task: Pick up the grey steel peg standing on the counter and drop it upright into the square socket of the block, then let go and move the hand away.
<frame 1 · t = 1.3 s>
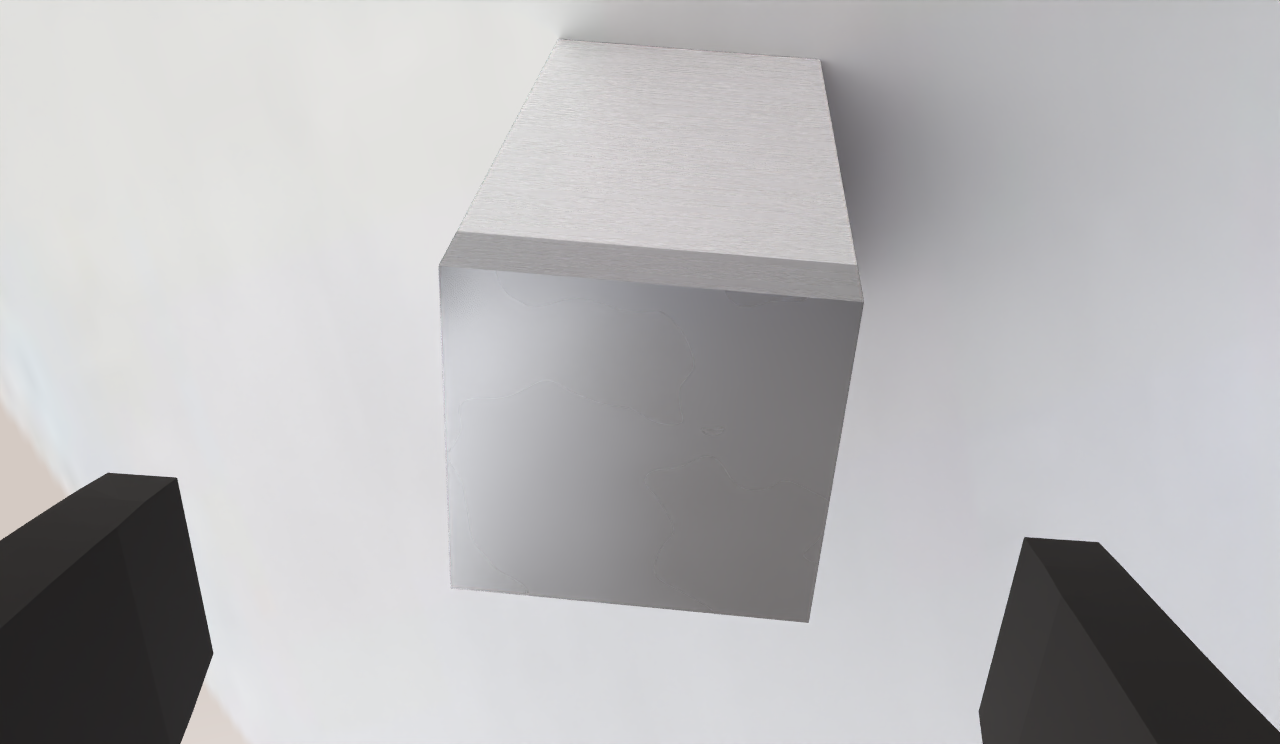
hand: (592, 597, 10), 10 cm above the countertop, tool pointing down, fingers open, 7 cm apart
peg: (678, 173, 19), on the countertop
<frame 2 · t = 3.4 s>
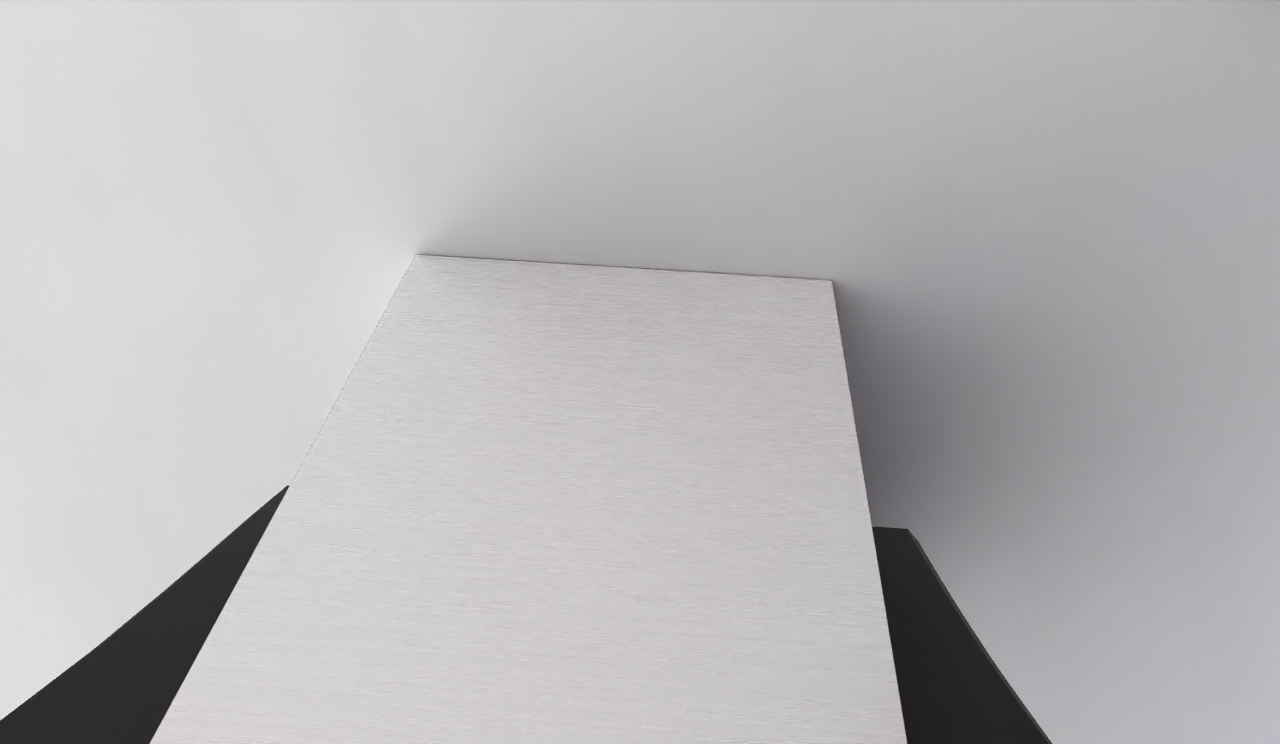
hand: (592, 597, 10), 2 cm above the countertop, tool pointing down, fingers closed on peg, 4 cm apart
peg: (616, 440, 12), on the countertop, touching gripper
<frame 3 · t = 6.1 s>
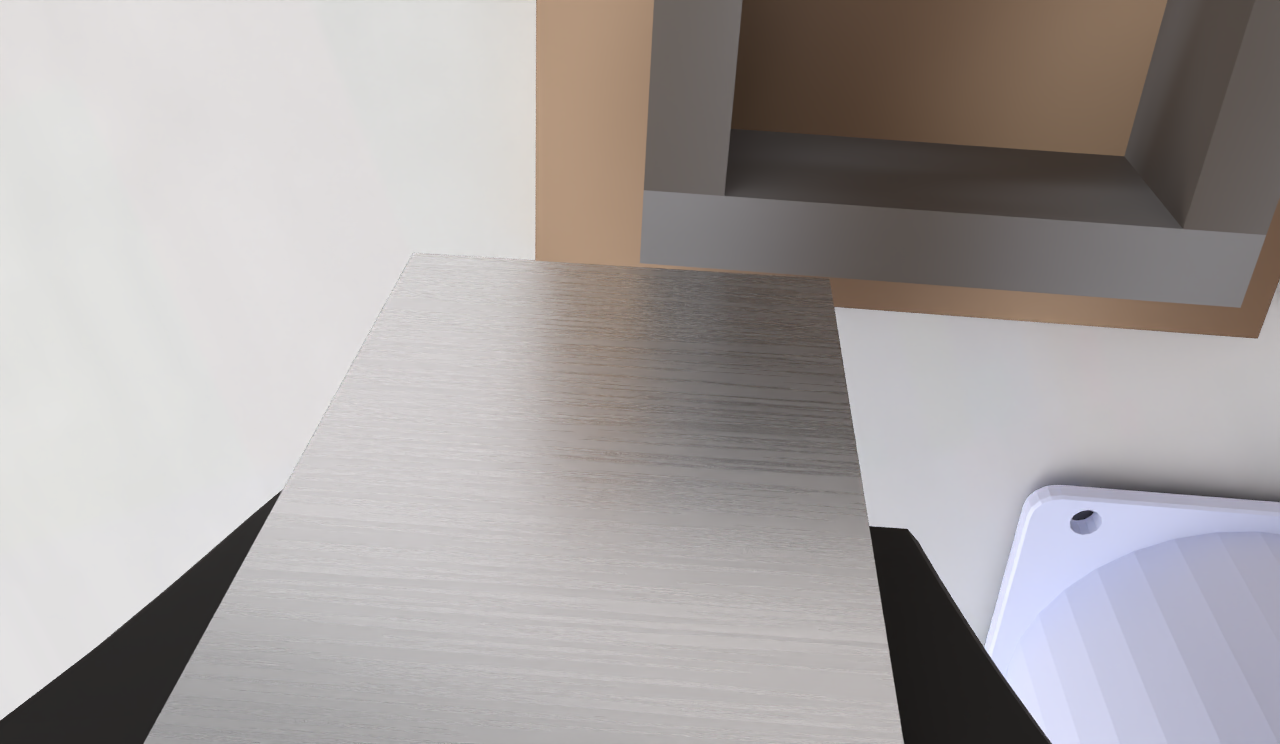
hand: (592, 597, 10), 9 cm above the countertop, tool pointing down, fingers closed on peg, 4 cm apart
peg: (614, 438, 12), point 7 cm above the countertop, touching gripper
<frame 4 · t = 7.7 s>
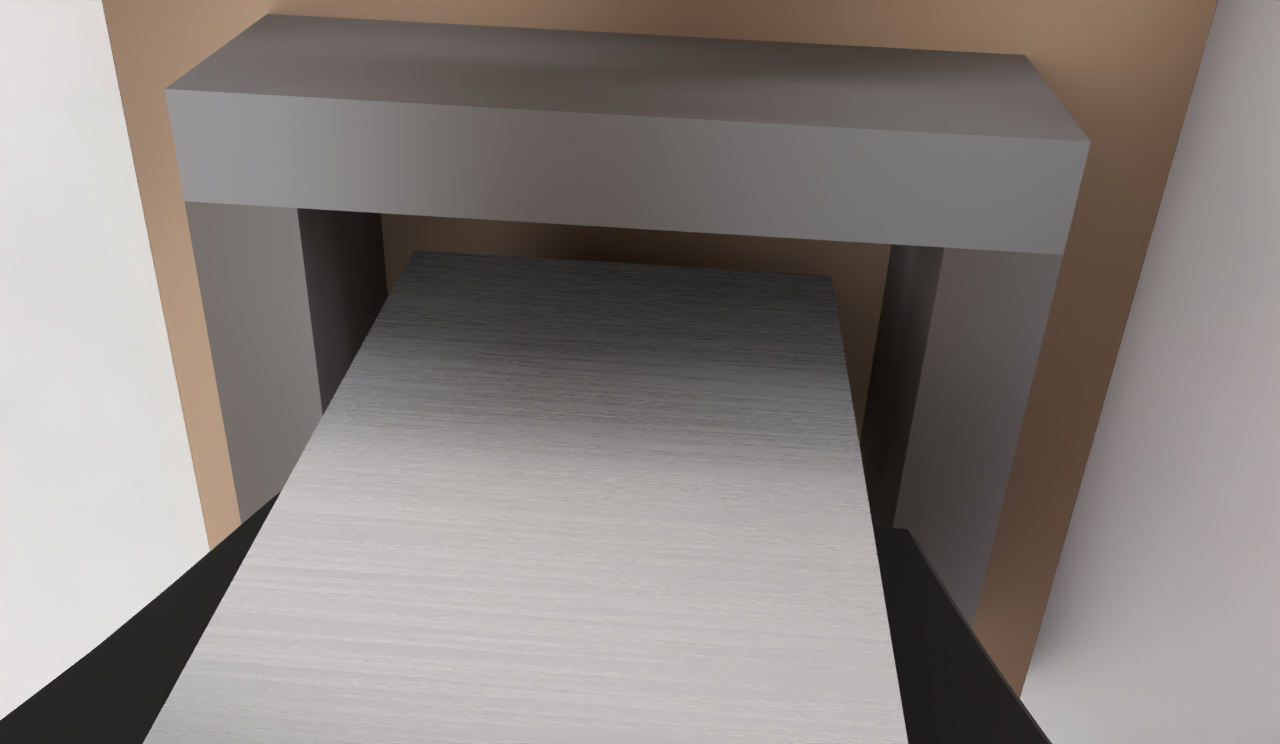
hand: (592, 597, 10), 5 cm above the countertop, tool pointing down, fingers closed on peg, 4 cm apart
socket block: (635, 320, 15), on the countertop
peg: (616, 436, 12), point 3 cm above the countertop, touching gripper
when the fingers open (5 cm above the countertop, at t = 8.9 s): peg drops 1 cm, resting on socket block.
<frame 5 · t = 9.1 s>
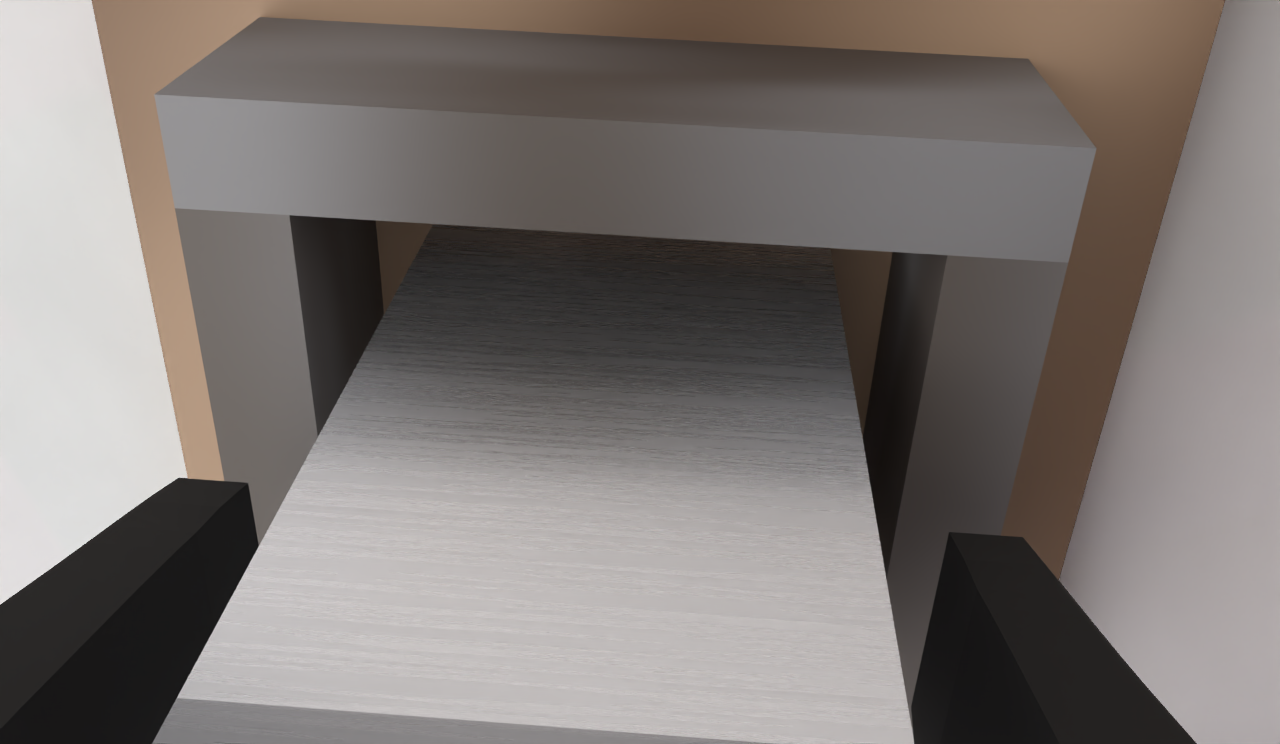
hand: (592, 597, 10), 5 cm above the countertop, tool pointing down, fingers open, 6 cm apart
socket block: (633, 326, 14), on the countertop
peg: (630, 365, 13), point 1 cm above the countertop, touching socket block
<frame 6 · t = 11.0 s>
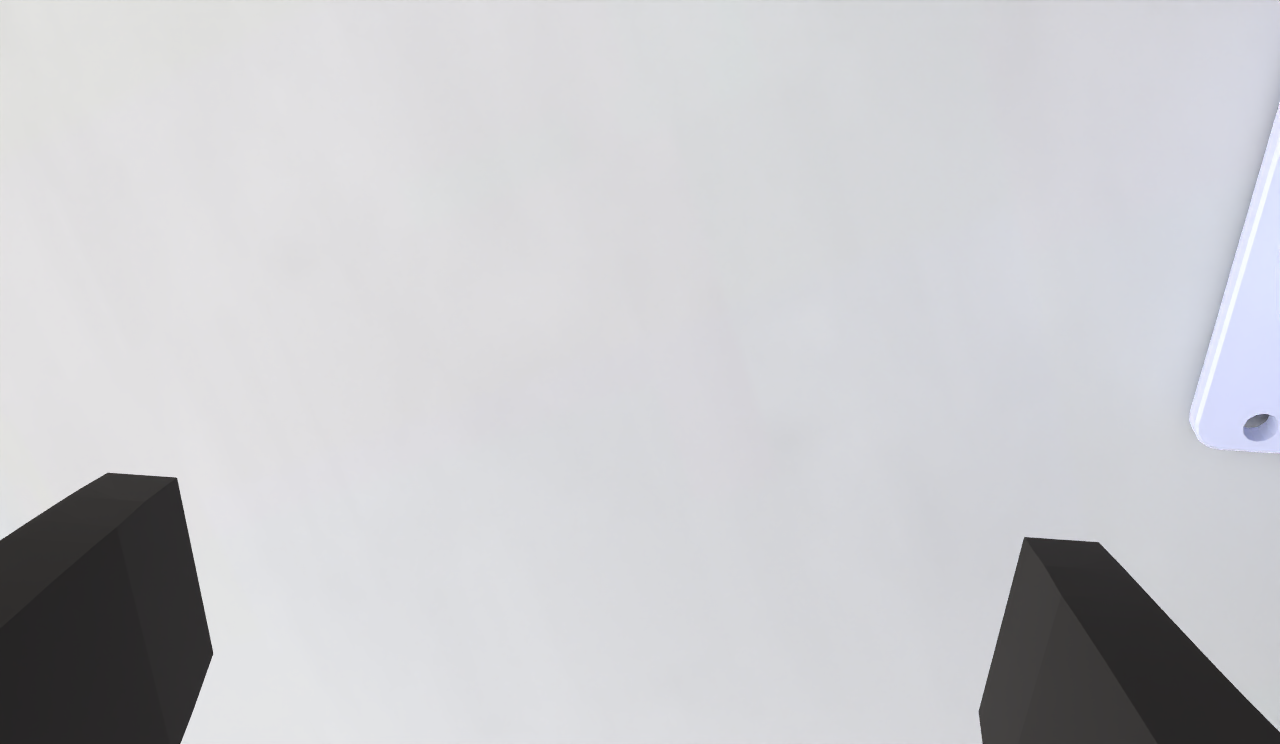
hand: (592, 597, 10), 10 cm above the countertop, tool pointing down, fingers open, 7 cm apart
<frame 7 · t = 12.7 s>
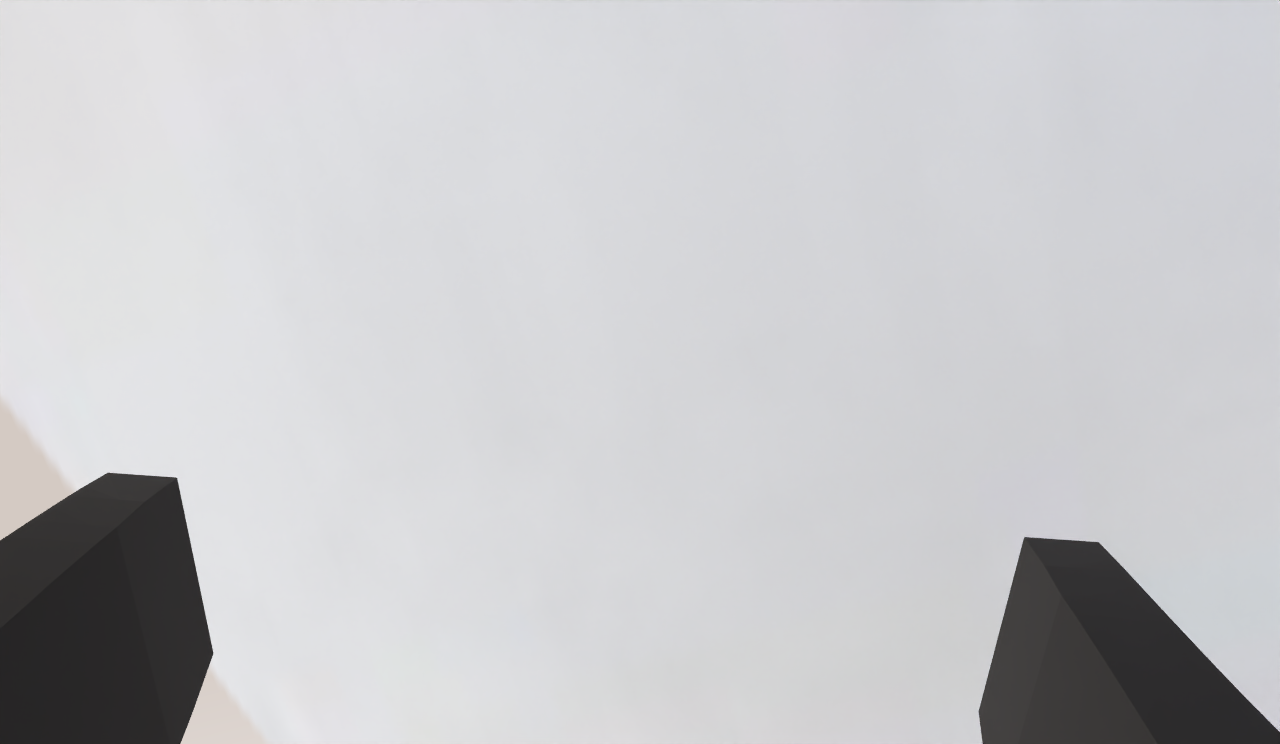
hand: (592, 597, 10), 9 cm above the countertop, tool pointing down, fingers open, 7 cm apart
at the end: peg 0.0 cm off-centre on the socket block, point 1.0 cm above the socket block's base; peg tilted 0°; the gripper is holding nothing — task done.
